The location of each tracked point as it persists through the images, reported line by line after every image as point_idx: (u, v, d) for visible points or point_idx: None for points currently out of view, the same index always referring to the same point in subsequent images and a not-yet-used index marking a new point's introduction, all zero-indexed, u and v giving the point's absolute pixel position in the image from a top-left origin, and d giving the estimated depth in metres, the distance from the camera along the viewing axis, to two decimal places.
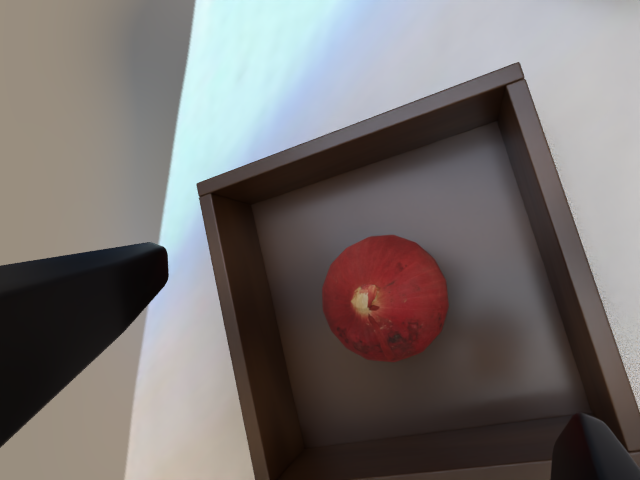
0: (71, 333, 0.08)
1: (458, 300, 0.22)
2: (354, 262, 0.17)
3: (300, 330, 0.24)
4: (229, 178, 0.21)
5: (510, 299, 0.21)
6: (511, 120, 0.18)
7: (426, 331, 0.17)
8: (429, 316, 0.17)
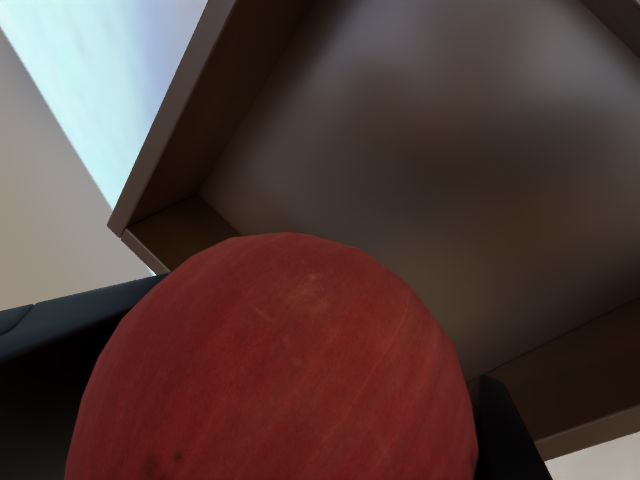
0: None
1: (505, 165, 0.14)
2: (64, 475, 0.05)
3: None
4: (128, 200, 0.15)
5: (583, 121, 0.12)
6: None
7: None
8: None
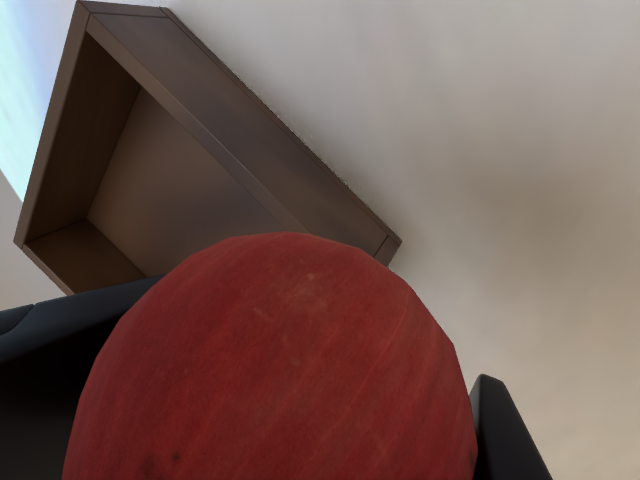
0: None
1: (244, 209, 0.23)
2: (62, 476, 0.05)
3: None
4: (22, 226, 0.24)
5: None
6: None
7: None
8: None
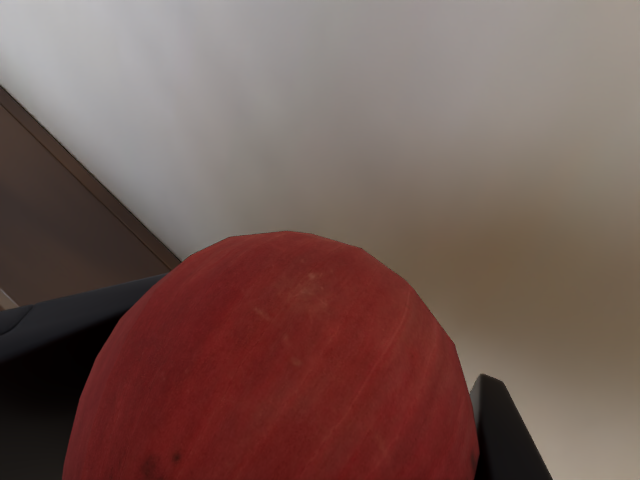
0: None
1: None
2: (62, 476, 0.05)
3: None
4: None
5: None
6: None
7: None
8: None
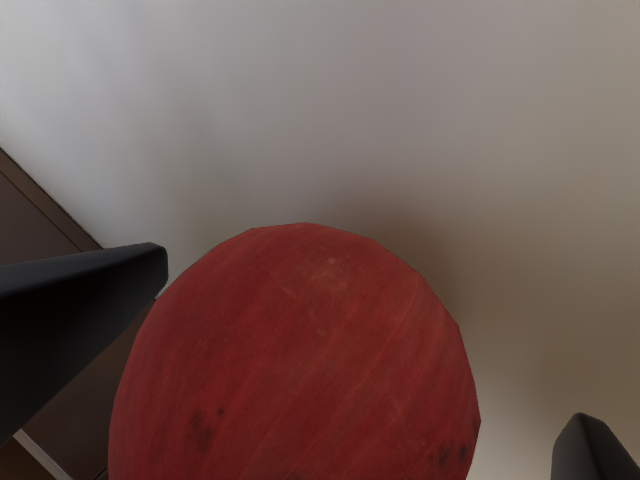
0: (71, 333, 0.08)
1: None
2: (111, 438, 0.05)
3: None
4: None
5: None
6: None
7: None
8: None
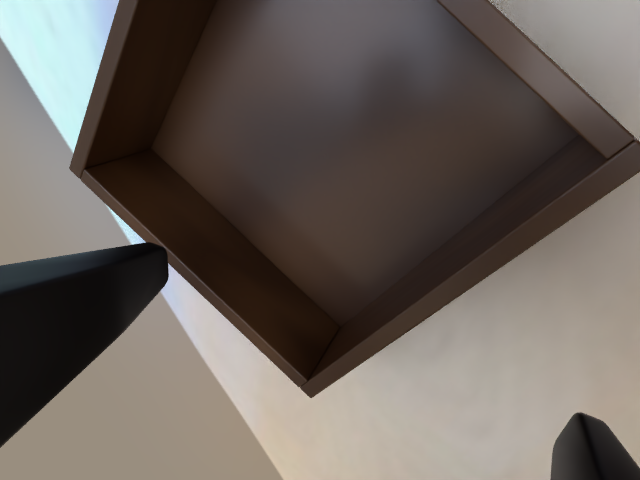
0: (71, 333, 0.08)
1: (378, 105, 0.17)
2: None
3: (268, 232, 0.23)
4: (83, 144, 0.19)
5: (428, 64, 0.16)
6: None
7: None
8: None
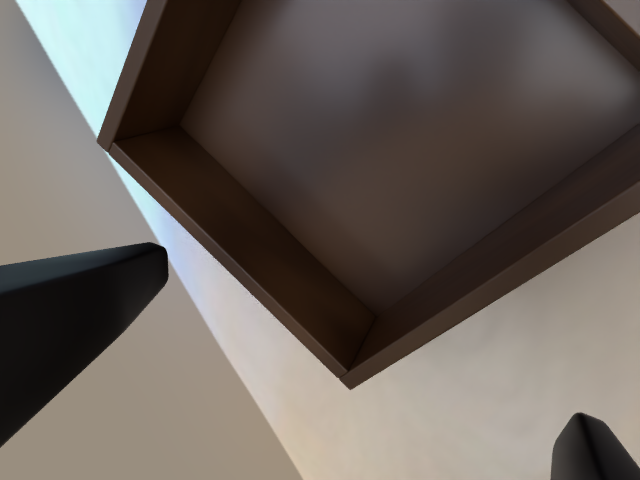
0: (71, 333, 0.08)
1: (436, 75, 0.16)
2: None
3: (303, 215, 0.21)
4: (114, 114, 0.18)
5: (496, 30, 0.15)
6: None
7: None
8: None
